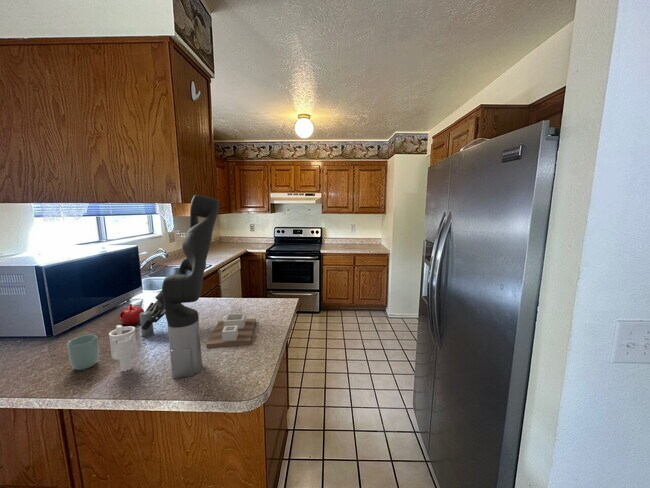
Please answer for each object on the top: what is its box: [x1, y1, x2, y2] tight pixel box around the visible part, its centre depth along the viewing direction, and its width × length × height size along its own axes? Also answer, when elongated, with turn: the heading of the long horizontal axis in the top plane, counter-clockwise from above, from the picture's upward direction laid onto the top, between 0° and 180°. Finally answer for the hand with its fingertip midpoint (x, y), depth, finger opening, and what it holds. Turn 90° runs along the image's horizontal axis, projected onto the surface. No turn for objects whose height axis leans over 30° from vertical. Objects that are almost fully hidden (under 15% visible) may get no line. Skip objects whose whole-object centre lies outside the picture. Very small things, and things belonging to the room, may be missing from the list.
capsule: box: [139, 310, 155, 338], centre depth 116 cm, size 4×4×10 cm
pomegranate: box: [118, 303, 145, 326], centre depth 129 cm, size 10×10×9 cm
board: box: [205, 318, 257, 349], centre depth 117 cm, size 22×17×2 cm
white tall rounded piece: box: [108, 324, 138, 372], centre depth 91 cm, size 7×7×15 cm
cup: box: [66, 333, 100, 371], centre depth 93 cm, size 8×8×10 cm
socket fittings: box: [222, 312, 247, 341], centre depth 117 cm, size 19×8×4 cm, turn 9°
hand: (141, 327), depth 114 cm, fingers closed on capsule, 4 cm apart
